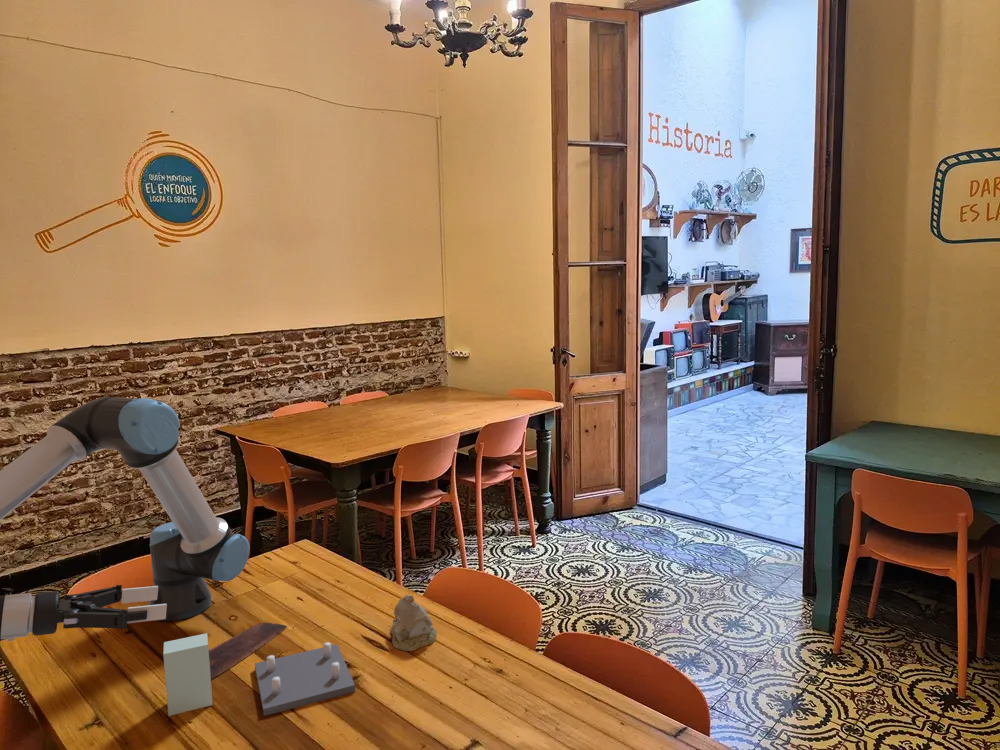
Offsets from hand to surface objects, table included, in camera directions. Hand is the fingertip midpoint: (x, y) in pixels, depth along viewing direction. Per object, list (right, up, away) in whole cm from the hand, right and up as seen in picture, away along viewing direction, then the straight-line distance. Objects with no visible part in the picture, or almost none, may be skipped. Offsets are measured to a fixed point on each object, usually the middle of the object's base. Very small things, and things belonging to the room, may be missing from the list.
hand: (161, 601), depth 133 cm
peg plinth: (+26, -20, +9) cm, 34 cm away
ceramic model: (+46, -18, +28) cm, 57 cm away
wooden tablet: (+6, -20, +22) cm, 30 cm away
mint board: (+5, -21, +2) cm, 22 cm away
